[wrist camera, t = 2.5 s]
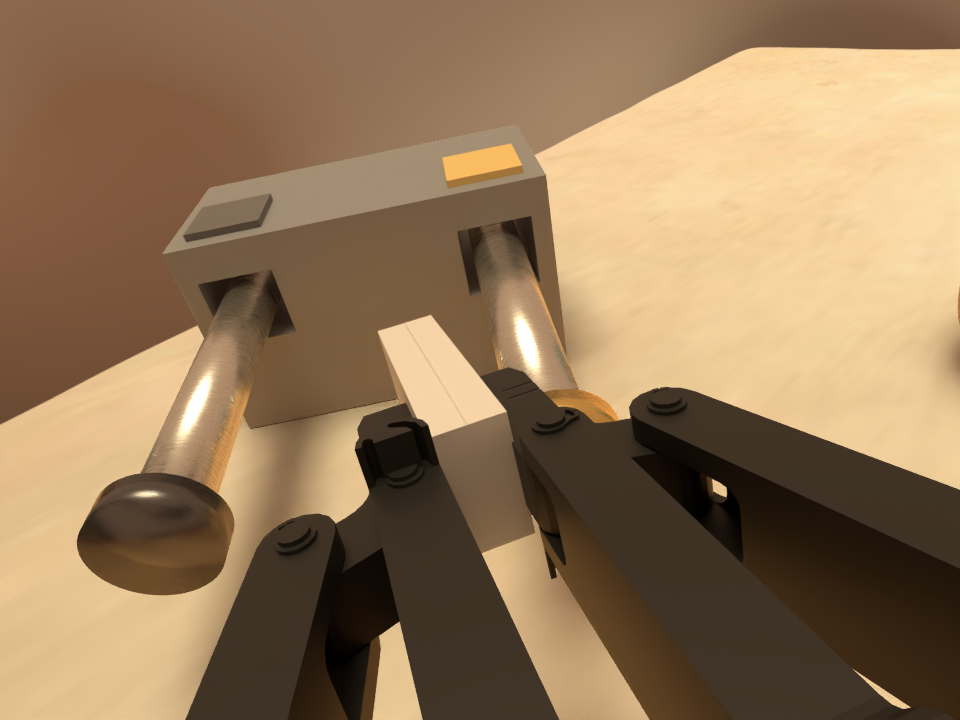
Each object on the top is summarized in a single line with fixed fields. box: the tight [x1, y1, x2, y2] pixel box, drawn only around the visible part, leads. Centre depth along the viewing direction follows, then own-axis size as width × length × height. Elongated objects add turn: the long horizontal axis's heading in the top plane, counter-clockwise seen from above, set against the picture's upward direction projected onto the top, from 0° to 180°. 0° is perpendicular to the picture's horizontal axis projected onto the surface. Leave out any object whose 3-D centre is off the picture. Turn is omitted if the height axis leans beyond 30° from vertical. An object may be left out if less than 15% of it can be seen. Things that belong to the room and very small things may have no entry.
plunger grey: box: [77, 269, 281, 595], centre depth 30 cm, size 5×20×5 cm, turn 6°
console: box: [162, 124, 567, 428], centre depth 40 cm, size 20×10×12 cm, turn 96°
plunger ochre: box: [468, 220, 619, 515], centre depth 29 cm, size 5×20×5 cm, turn 6°
